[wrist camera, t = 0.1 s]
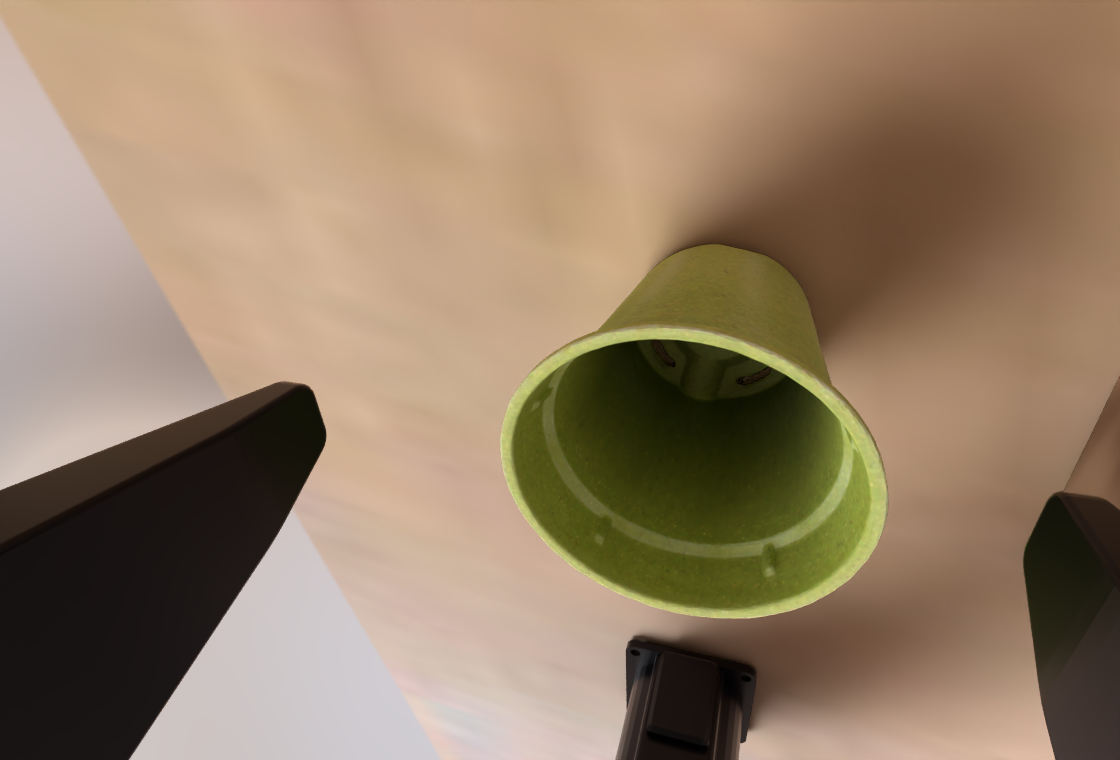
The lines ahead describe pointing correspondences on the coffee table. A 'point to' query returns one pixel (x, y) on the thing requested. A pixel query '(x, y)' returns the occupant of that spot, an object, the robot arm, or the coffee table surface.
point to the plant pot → (699, 446)
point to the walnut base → (1101, 456)
